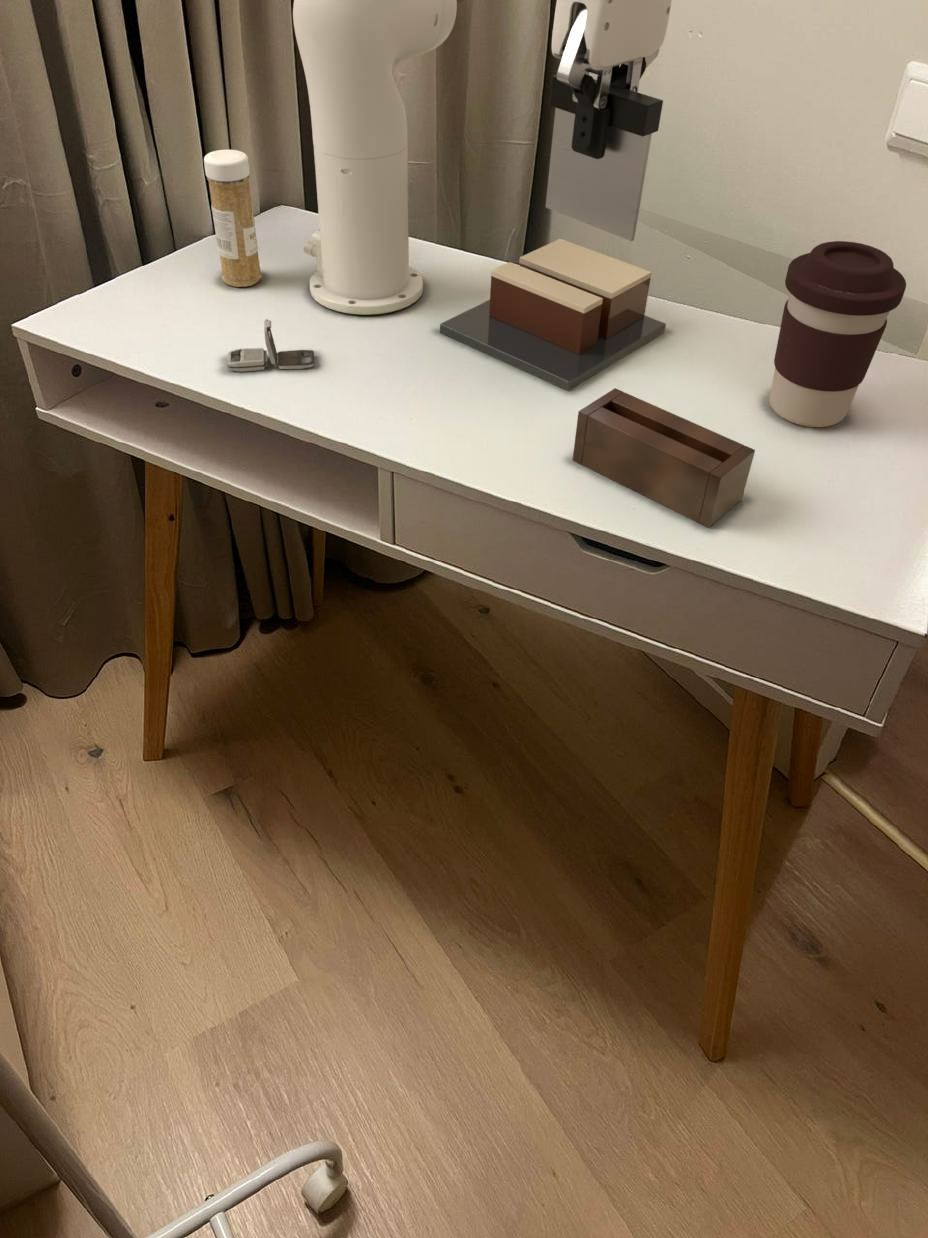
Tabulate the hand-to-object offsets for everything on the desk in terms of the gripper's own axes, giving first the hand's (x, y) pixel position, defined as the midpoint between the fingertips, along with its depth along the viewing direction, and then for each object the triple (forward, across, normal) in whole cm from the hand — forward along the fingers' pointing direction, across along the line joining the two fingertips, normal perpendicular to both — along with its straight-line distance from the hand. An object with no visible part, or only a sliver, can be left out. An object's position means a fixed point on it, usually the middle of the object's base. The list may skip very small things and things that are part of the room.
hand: (598, 148), depth 86 cm
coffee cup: (+20, -9, +22) cm, 31 cm away
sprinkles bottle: (+22, +12, -38) cm, 45 cm away
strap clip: (+21, +22, -21) cm, 37 cm away
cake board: (+21, -4, -5) cm, 22 cm away
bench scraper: (+7, 0, 0) cm, 7 cm away
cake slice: (+20, -2, -5) cm, 21 cm away
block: (+20, +11, +18) cm, 29 cm away
